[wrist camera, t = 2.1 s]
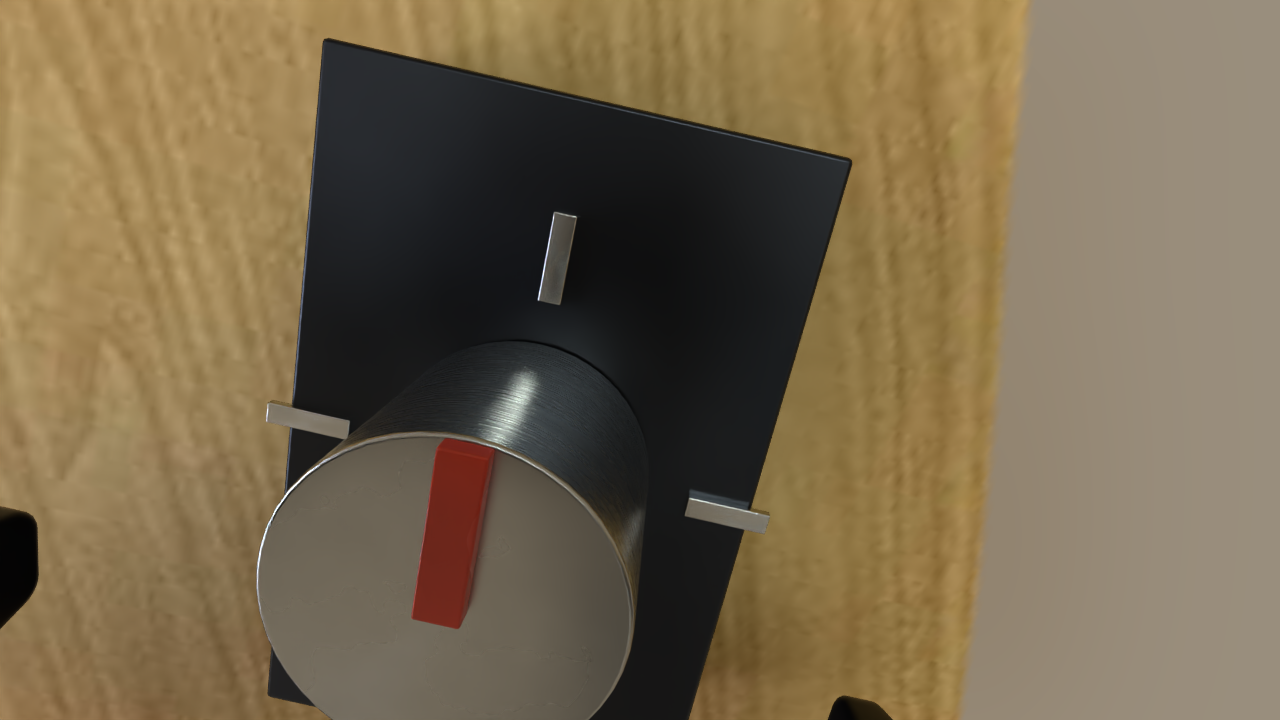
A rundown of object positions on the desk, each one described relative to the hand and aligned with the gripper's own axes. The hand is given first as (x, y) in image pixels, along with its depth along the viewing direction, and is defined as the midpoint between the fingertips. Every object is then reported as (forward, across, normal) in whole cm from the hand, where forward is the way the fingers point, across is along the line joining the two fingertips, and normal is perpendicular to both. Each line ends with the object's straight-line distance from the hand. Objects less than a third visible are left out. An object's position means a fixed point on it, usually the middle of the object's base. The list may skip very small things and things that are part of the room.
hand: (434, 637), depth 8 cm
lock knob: (+4, 0, 0) cm, 4 cm away
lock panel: (+7, 0, 0) cm, 7 cm away
